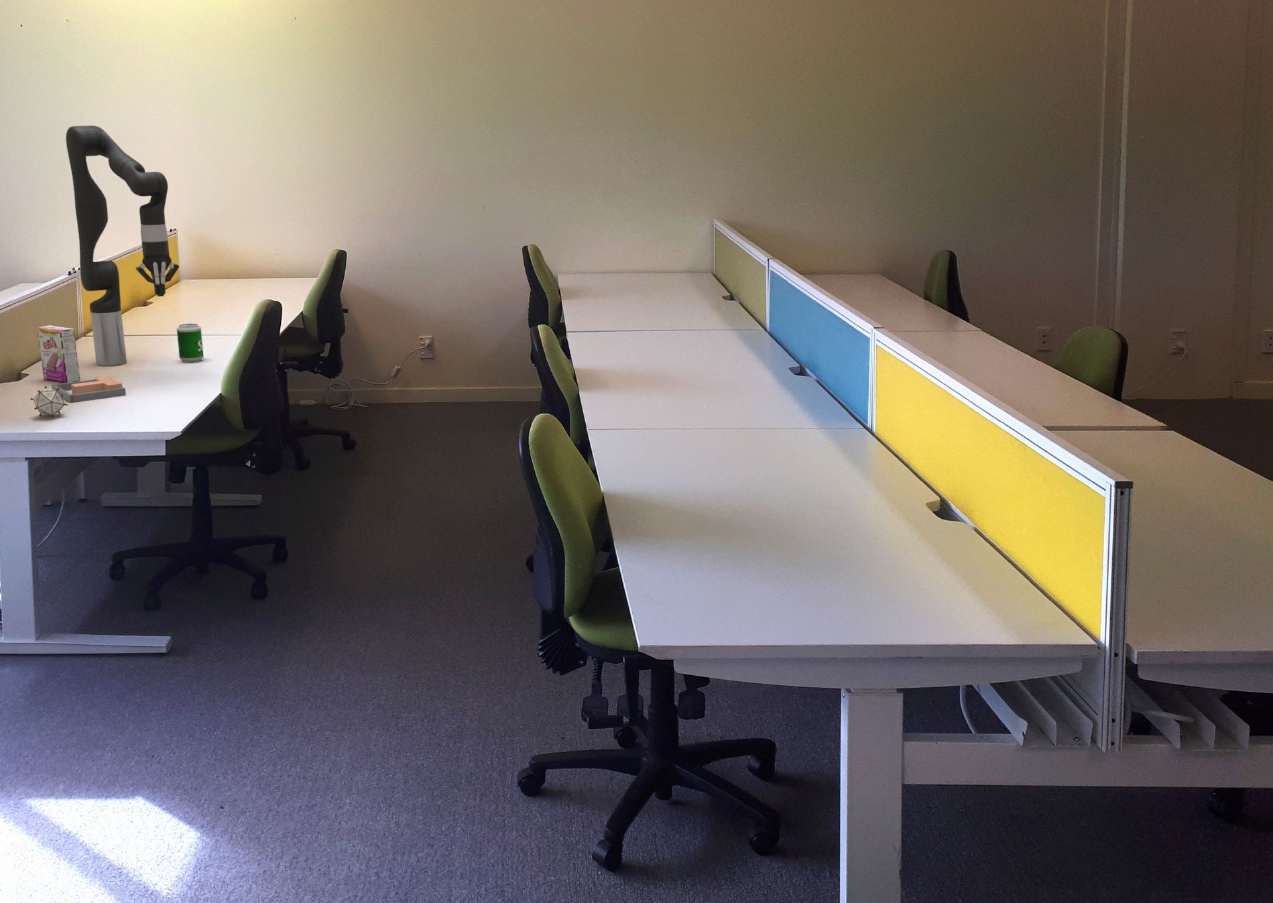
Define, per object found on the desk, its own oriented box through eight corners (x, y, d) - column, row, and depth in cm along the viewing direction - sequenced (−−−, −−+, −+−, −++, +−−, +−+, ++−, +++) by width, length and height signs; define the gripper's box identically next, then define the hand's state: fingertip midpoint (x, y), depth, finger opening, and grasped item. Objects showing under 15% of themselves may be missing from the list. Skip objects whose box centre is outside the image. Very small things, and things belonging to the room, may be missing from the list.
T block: (68, 391, 359) (67, 382, 358) (110, 386, 366) (109, 376, 366) (80, 399, 350) (79, 389, 349) (123, 393, 358) (122, 383, 357)
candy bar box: (42, 380, 374) (35, 327, 369) (57, 377, 378) (50, 324, 374) (67, 384, 369) (60, 330, 364) (81, 380, 373) (74, 328, 369)
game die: (48, 428, 333) (40, 395, 336) (76, 417, 333) (68, 384, 335) (28, 419, 324) (20, 386, 327) (58, 408, 324) (50, 375, 327)
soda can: (196, 363, 399) (192, 327, 395) (175, 362, 400) (171, 326, 397) (208, 359, 406) (205, 323, 403) (187, 358, 407) (184, 322, 404)
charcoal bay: (52, 391, 359) (51, 384, 359) (106, 384, 369) (105, 377, 368) (69, 402, 346) (69, 395, 345) (126, 395, 355) (125, 388, 355)
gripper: (172, 237, 376) (177, 292, 381) (128, 239, 368) (134, 296, 373) (180, 239, 371) (186, 295, 376) (136, 241, 363) (142, 299, 367)
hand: (160, 296), depth 374 cm, fingers closed
